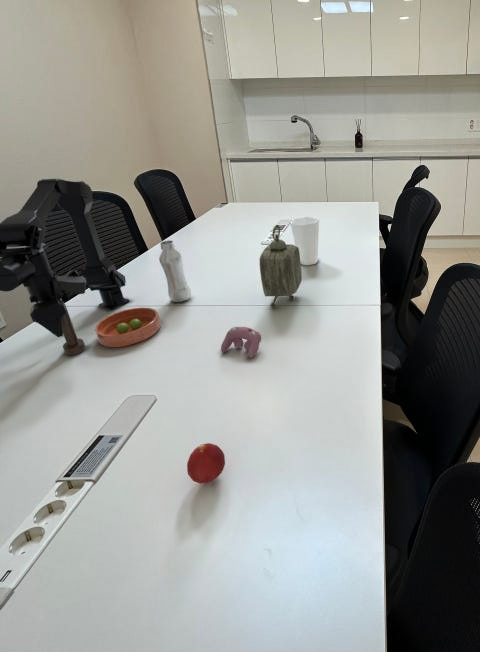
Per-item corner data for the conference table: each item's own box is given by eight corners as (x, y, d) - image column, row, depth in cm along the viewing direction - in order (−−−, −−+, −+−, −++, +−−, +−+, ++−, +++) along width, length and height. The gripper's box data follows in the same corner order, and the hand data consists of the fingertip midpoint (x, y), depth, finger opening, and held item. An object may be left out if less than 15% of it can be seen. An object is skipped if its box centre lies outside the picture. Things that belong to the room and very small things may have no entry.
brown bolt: (62, 349, 101) (45, 305, 94) (81, 341, 104) (66, 298, 97) (68, 357, 99) (51, 313, 92) (88, 349, 102) (73, 306, 95)
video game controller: (261, 356, 100) (265, 329, 100) (251, 359, 96) (254, 331, 96) (230, 349, 103) (233, 323, 103) (218, 352, 99) (222, 324, 99)
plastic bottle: (184, 305, 124) (169, 246, 116) (165, 303, 125) (149, 245, 117) (196, 296, 129) (183, 239, 121) (178, 294, 131) (164, 238, 123)
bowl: (87, 340, 106) (82, 328, 104) (139, 315, 119) (135, 303, 117) (122, 354, 100) (117, 341, 98) (172, 325, 112) (169, 313, 111)
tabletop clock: (277, 290, 132) (268, 219, 122) (304, 289, 132) (296, 218, 122) (266, 311, 119) (254, 233, 109) (295, 310, 118) (286, 233, 108)
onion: (198, 465, 68) (189, 431, 65) (232, 462, 69) (224, 429, 66) (187, 496, 63) (176, 461, 60) (223, 492, 63) (214, 457, 60)
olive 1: (111, 326, 106) (121, 319, 107) (119, 331, 109) (128, 323, 110) (116, 333, 105) (126, 325, 106) (123, 337, 108) (133, 329, 109)
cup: (327, 260, 156) (324, 219, 149) (311, 269, 148) (306, 226, 141) (306, 255, 161) (302, 215, 154) (289, 263, 154) (284, 222, 147)
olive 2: (133, 320, 111) (124, 325, 108) (139, 315, 110) (130, 320, 107) (140, 328, 112) (132, 333, 109) (146, 323, 110) (138, 329, 108)
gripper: (80, 275, 90) (101, 332, 96) (75, 253, 103) (93, 305, 109) (18, 289, 83) (45, 349, 90) (21, 264, 97) (44, 318, 103)
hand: (59, 328), depth 98 cm, fingers open, 9 cm apart
